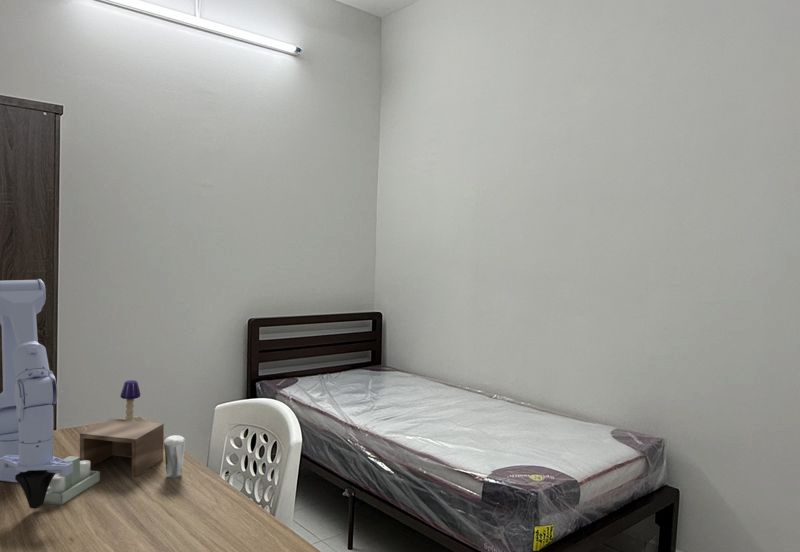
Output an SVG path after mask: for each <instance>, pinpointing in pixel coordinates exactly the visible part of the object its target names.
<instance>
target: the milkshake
mask: <svg viewBox="0 0 800 552" xmlns="http://www.w3.org/2000/svg"><path fill="white" fill-rule="evenodd" d="M187 437H188V433H187V434H186V435H185V437H183V435H174V434H173V435H169V436H167V437H166V438H165V439H164V440H163V449H164V457H165V472H166V474H165V475H166V478H168V479H177V478H180V477H181V476H182V475H183V467H184V456H185V455H184V454H185V447H186V439H187Z"/></svg>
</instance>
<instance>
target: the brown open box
mask: <svg viewBox="0 0 800 552" xmlns="http://www.w3.org/2000/svg"><path fill="white" fill-rule="evenodd" d="M164 425H165V424H164V423H160V422H151V421H141V420H140V421H139V420H126V419H121V418H109V419H107V420H104V421H103V422H100V423H99V424H97V425H95V426H93V427H90V428H88V429H86V430H83V431H82V432H80V433H79V457H80V461H83V460H89V461H90V468H92V467H94V466H96V465H97V464H99V463H101V462H102V461H104V460H106V459H108V458H110V457H112V456H116V457H118V456H119V457H125V458H131V477H132V478H137V477H139V476H140V475H142V474H143V473H145V472H146V471H147V470H149V469H151V468H152V467H153V466H155V465H156V464H158V463H159V462H161V461H162V460H164V438H165V437H164V432H165V431H164V428H165V427H164Z"/></svg>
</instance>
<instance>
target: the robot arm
mask: <svg viewBox="0 0 800 552" xmlns="http://www.w3.org/2000/svg"><path fill="white" fill-rule="evenodd" d="M46 291H47V289H46V285H45V282H44V281H43V280H42V279H41V278H37V279H21V280H20V279H18V280H17V279H16V280H14V279H11V280H0V326H1V352H2V353H1V358H2V359H1V360H2V392H1V393H0V481H2V482H10V483H18V484H19V486H20V487H21V489H22V490H23V492H24V495H25V498H26V500H27V503H28V507H29V509H37V508H39V507H41V506H43V505H44V504H45V503H44V499H45V496H46V492H47V489H48V487H49V486H50V482H51V480H52V478H53V477H54V475H56V474H62V475H63V476H66V475H68V474H70V473H72V472H73V462H68V461H65V460H63V459H62V458H60V457H58V456H54V405H56V403H57V401H58V385H57V380H56V377H55V375H54V372H53V370H50V366H49V360H48V354H47V348H46V347H45V346H44V345H43V344H41V343H39V341H38V339H39V338H38V323H37V315H39V313H41V312H42V310H43V307H44V305H45V303H46V299H47V294H46V293H47V292H46Z"/></svg>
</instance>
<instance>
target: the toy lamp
mask: <svg viewBox="0 0 800 552" xmlns="http://www.w3.org/2000/svg"><path fill="white" fill-rule="evenodd" d="M140 397H141V391H140V387H139V383H138V381H136V380H133V379H132V380H130V379H129V380H126V381H124V384H123V386H122V390H121V393H120V399H124V400H126V405H125V408H126V409H125V414H126V415H125V420H132V421H134V415H133V414H134V407H135V405H134V402H135V399H139V398H140Z"/></svg>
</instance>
